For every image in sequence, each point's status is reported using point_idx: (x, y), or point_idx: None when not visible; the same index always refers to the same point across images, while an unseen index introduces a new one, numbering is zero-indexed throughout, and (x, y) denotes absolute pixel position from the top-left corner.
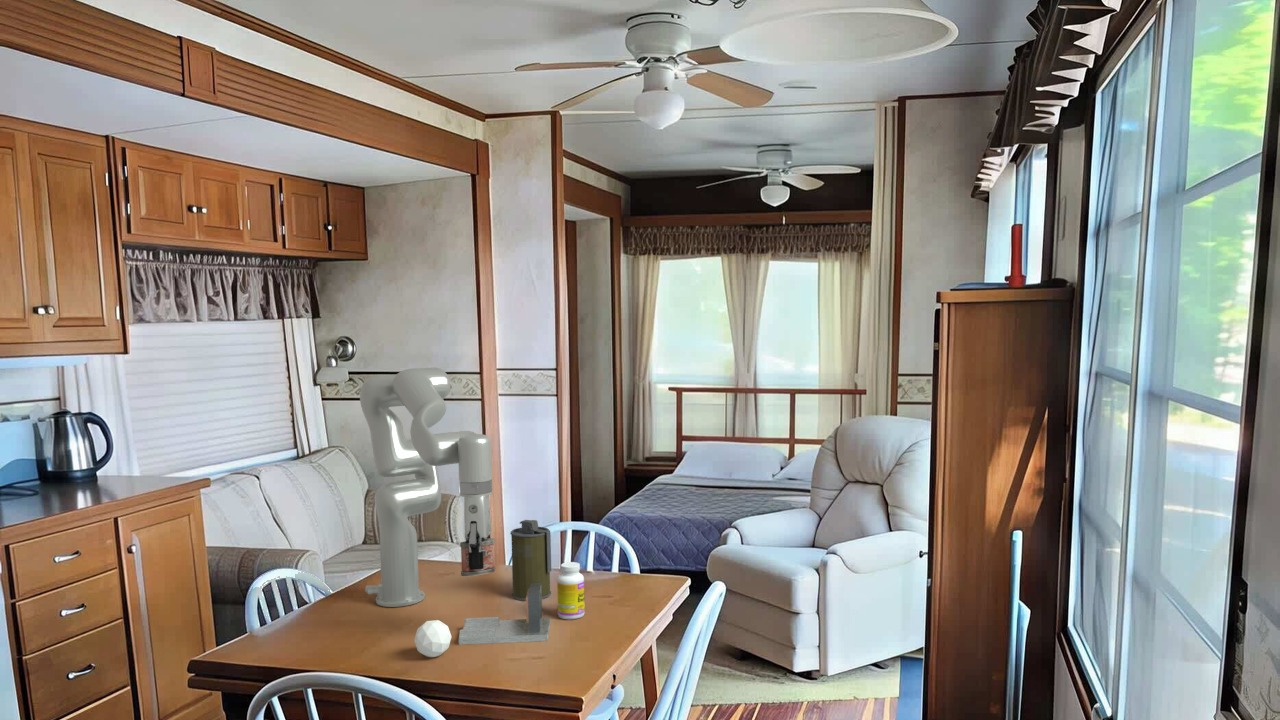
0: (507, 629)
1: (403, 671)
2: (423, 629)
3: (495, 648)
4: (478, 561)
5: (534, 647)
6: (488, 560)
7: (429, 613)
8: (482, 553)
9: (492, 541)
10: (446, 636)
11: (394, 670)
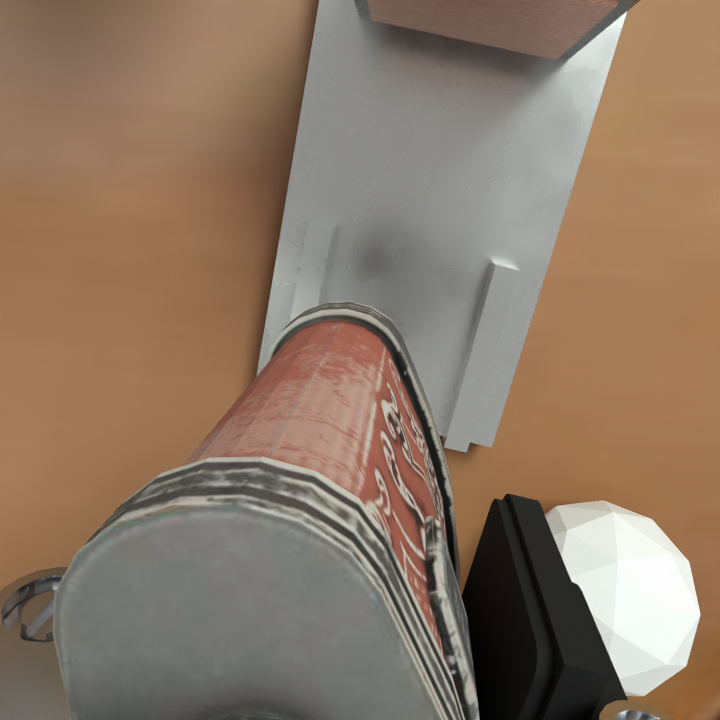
0: (457, 186)
1: (701, 654)
2: (657, 685)
3: (612, 270)
4: (592, 626)
5: (699, 51)
6: (410, 445)
7: (19, 521)
8: (599, 655)
9: (376, 560)
10: (672, 552)
11: (672, 680)
